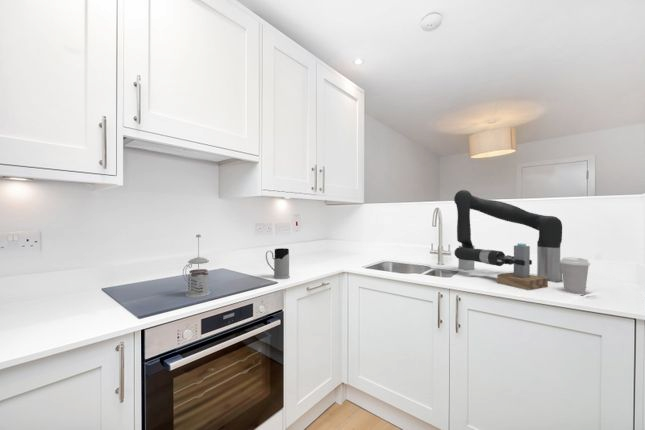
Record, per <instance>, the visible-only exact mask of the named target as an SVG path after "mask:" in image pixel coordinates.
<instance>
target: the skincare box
mask: <svg viewBox="0 0 645 430" xmlns="http://www.w3.org/2000/svg"><path fill="white" fill-rule="evenodd" d="M458 247H462V244H461V245H458ZM475 247H476V246H475V245H473V248H474V249H476V248H475ZM458 270H462V271H463V270H464V271H471V270H475V261H471V260H461V259H458Z"/></svg>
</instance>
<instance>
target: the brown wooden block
mask: <svg viewBox="0 0 645 430" xmlns="http://www.w3.org/2000/svg"><path fill="white" fill-rule="evenodd" d="M496 279H497V280H496V282H497V284H500V285H505V286H510V287H514V288H518V289H522V290H527V291H533V290H537V289H538V290H539V289H544V288H545V289H546V288H549V286H548V284H549V281H548V278H545V277H539V276H537V275H532V274H530V277H527V278H522V277H517V276H514V271H513V272H507V273H500V274H498V273H497V276H496Z"/></svg>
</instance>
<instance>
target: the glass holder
mask: <svg viewBox="0 0 645 430" xmlns="http://www.w3.org/2000/svg"><path fill="white" fill-rule="evenodd" d="M269 252H270V253H271V257H272V260H274V261H273V264H274V265H273V267H272V266H271V265H270V262H269V260H268V253H269ZM265 260H266V262H267V266H269V267H270V268H271V270H273V279H275V280H286V279H287V280H288V279H290V277H291V276H290V249H289V248H285V247H283V248H275V249H274V252H273V251H271V250H267V251H266V252H265Z"/></svg>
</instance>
